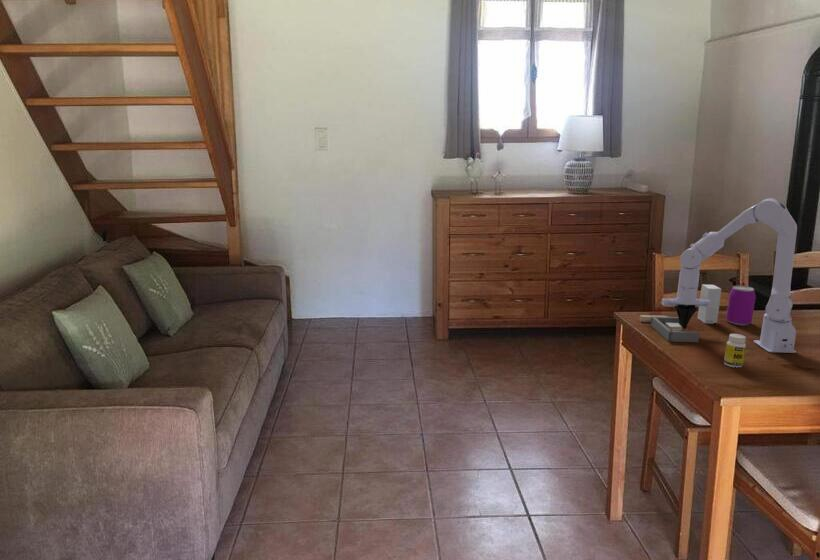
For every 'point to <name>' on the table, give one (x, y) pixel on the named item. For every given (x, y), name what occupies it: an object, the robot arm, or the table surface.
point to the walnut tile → (677, 330)
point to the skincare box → (714, 296)
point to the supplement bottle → (735, 350)
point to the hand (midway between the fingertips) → (682, 327)
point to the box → (673, 336)
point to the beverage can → (741, 305)
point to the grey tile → (673, 325)
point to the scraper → (648, 317)
